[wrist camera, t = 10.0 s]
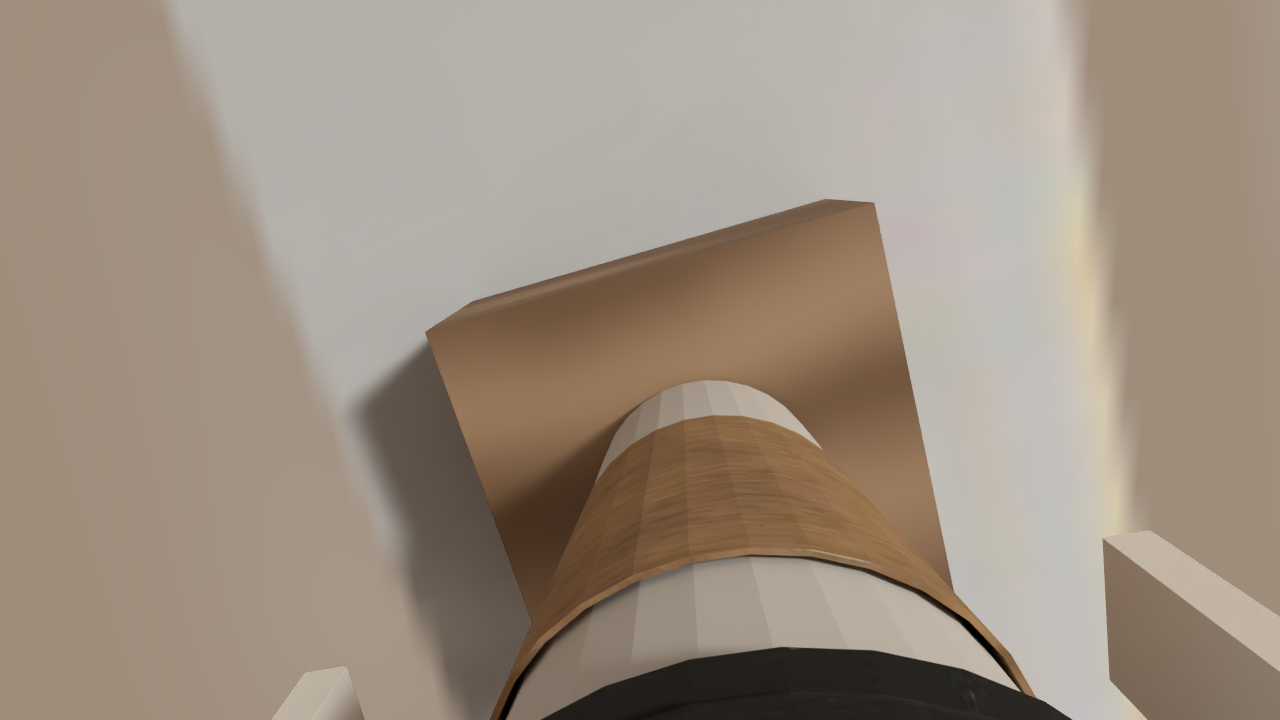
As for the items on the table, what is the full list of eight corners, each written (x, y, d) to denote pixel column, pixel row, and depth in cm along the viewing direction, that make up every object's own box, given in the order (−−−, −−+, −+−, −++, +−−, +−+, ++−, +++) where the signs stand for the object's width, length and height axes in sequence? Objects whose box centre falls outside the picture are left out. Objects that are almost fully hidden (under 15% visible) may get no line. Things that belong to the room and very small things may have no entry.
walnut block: (898, 529, 25) (957, 611, 20) (579, 607, 26) (562, 704, 21) (825, 199, 22) (874, 202, 17) (472, 301, 23) (424, 331, 18)
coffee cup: (574, 621, 21) (369, 1703, 6) (541, 343, 18) (95, 995, 4) (863, 606, 20) (1385, 1724, 6) (864, 320, 18) (1724, 949, 3)
